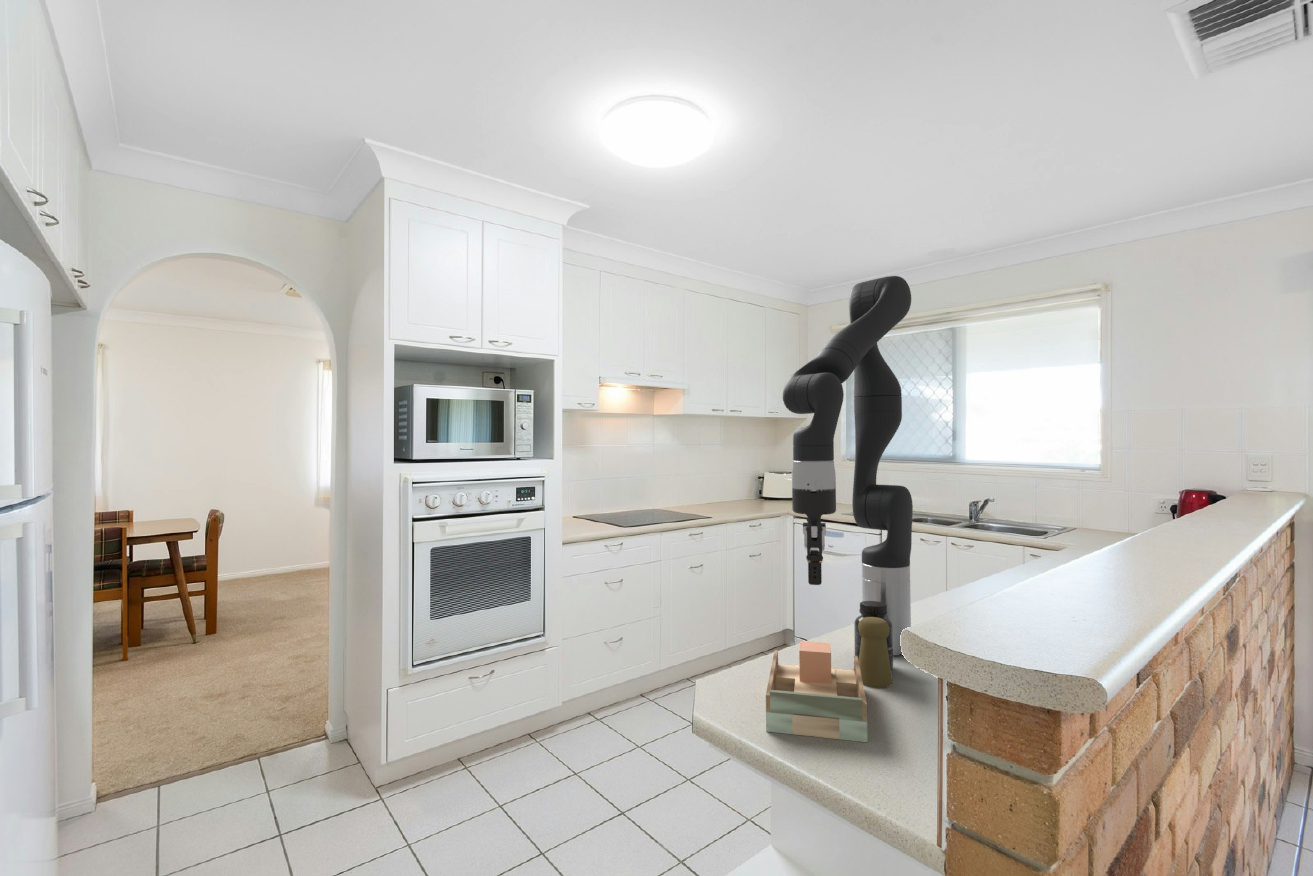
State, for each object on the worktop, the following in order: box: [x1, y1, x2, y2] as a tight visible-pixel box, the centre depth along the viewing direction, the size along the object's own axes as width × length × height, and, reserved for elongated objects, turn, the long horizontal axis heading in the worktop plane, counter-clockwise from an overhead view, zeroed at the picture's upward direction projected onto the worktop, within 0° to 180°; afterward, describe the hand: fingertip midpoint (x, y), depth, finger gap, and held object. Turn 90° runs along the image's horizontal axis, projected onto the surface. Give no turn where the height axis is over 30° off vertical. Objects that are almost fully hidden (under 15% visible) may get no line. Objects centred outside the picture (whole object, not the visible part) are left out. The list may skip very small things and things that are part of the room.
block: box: [798, 640, 832, 684], centre depth 102 cm, size 5×5×5 cm
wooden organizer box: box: [765, 649, 868, 743], centre depth 98 cm, size 20×14×6 cm
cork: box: [858, 617, 894, 689], centre depth 108 cm, size 6×6×11 cm
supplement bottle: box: [853, 601, 894, 672], centre depth 114 cm, size 7×7×12 cm
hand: (814, 579), depth 109 cm, fingers open, 7 cm apart
